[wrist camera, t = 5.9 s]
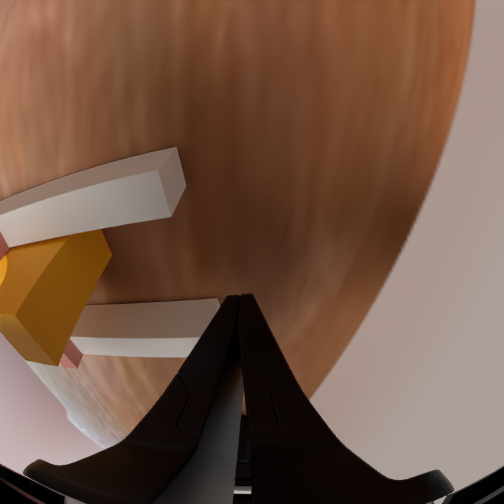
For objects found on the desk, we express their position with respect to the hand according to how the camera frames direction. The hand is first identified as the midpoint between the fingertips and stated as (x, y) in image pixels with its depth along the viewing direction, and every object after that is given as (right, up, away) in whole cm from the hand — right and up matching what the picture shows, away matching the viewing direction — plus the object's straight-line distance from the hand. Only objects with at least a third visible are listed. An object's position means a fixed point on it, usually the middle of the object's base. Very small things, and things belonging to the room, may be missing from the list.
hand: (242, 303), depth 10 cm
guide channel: (-8, +1, +3) cm, 9 cm away
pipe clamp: (-12, +2, +4) cm, 13 cm away
